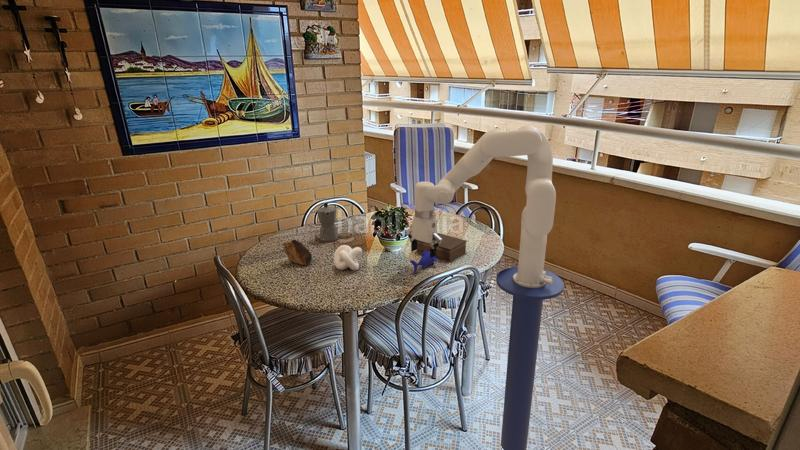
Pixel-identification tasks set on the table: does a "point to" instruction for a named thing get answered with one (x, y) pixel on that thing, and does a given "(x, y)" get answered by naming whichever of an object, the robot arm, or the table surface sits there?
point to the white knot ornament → (347, 257)
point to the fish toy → (424, 261)
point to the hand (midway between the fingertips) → (423, 253)
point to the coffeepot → (327, 223)
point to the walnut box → (445, 247)
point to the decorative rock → (297, 252)
